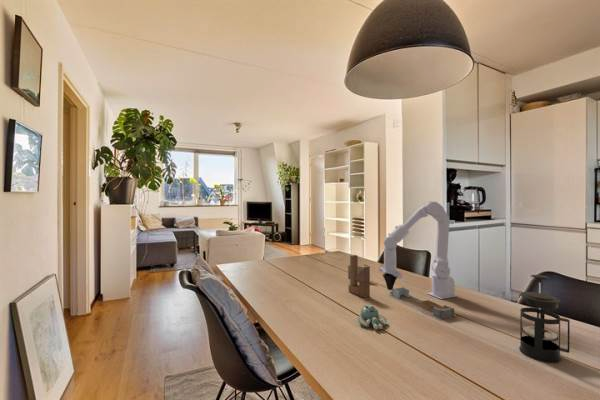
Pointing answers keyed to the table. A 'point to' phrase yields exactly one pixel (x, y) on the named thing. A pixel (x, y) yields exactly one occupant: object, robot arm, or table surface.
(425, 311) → the track
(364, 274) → the wooden block
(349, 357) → the table surface
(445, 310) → the grey c-shaped bracket
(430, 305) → the brown bar
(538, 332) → the french press
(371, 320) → the stuffed animal
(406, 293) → the cap
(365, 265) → the architectural model on board
